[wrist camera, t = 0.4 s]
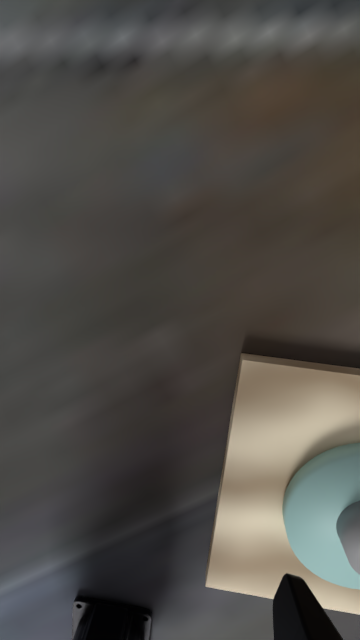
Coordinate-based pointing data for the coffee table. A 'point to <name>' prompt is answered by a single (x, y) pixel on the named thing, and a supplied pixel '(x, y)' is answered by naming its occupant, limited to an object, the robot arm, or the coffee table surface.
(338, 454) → the flange
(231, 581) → the post board
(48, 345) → the coffee table surface
